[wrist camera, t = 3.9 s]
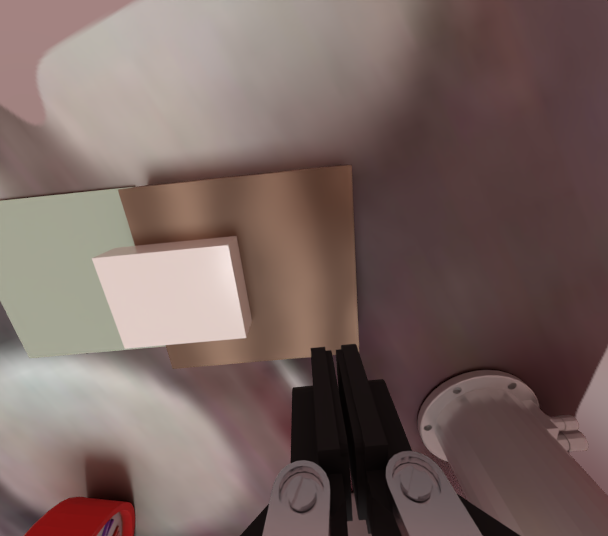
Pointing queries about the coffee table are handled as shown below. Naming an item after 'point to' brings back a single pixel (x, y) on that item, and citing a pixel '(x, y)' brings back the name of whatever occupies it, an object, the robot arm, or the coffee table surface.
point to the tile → (176, 292)
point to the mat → (60, 270)
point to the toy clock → (86, 519)
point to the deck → (266, 255)
